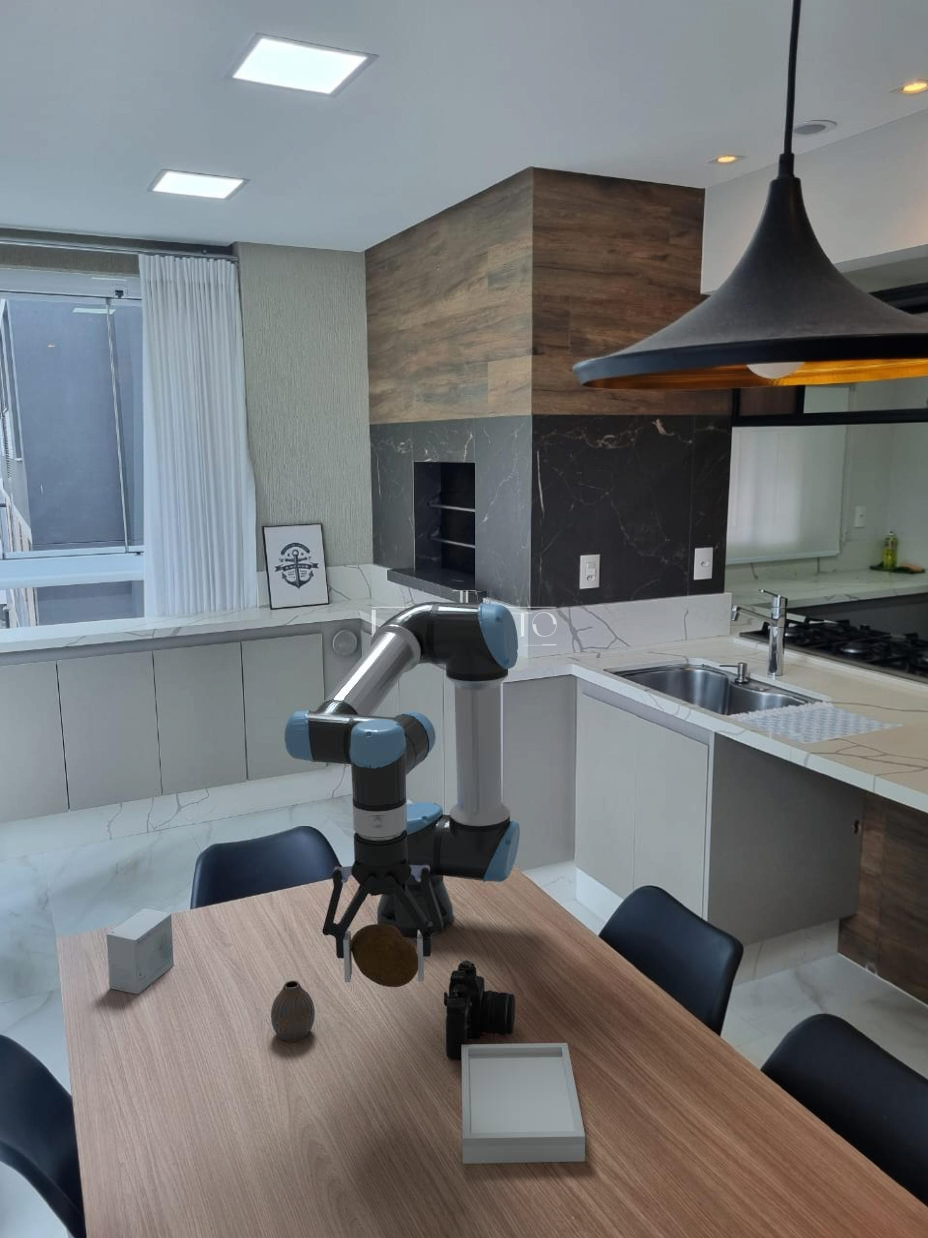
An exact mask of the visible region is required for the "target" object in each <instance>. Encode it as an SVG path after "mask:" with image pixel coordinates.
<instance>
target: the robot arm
mask: <svg viewBox="0 0 928 1238" xmlns="http://www.w3.org/2000/svg"><path fill="white" fill-rule="evenodd" d="M518 649H519V639H518V631H517V626H516V622H515V619H514V616H513V615H512V612H511V611H510V610H509V608H507V607H506V606H505V605H501V604H495V603H494V604H492V603H487V602H457V601H456V602H454V601H453V602H450V601H449V602H448V601H447V602H446V601H445V602H441V601H426V602H421V603H418V604H415V605H413V606H412V605H411V606H410V607H407V608H406V609H403V610H402V611H400V612H399V611H398V612H397V613H396V614H394V615H393V616H391V617H390V618H388V620H386V621H385V622H384V623H383V624H382V625H380V626H379V627H378V629H376V631H375V632H374V634H373V635H372V637H371V640H370V646H369V648H368V649H367V650H366V651H365V652H364V654H363V655H362V656H361V657H360V659H358V661H357V662H356V663H355V665H354V666H353V667H352V668H351V669H350V670H349V672H347V674H346V675H345V676H344V677H343V679H342V680H341V681H340V682H339V683H338V684H337V686H336V687H335V688H334V689H333V690H332V692H330V694H329V695H328V696H327V697H326V699H324V701H323V702H322V704H321V705H320V706H318V708H317V709H316V710H315V711H313V710H310V709H307V710H298V711H295V712H293V713H292V714H291V715H290V717H288V720H287V722H286V724H285V728H284V743H285V749H286V752H287V754H288V755H289V756H290V757H291V758H293V759H296V760H302V761H308V762H309V761H310V762H311V763H329V764H344V765H350V768H351V785H352V786H351V787H352V788H351V789H352V790H351V791H352V825H353V826H352V827H353V828H352V829H353V830H354V834H353V849H354V850H353V852H354V853H353V855H354V857H353V858H354V862H353V863H352V865H350V866H349V865H348V866H347V865H346V866H343V865H342V864H339V863H337V864H335V866H334V869H333V871H332V875H331V877H332V884H333V888H332V892H331V897H330V900H329V904H328V907H327V912H326V915H325V920H324V922H323V926H322V930H321V931H322V932H321V933H322V935H324V936H332V937H334V938H335V952H336V958H337V959H343V964H344V965H343V967H344V969H343V970H344V983H351V980H352V975H353V961H352V960H353V955H352V951H351V939H352V934H351V933H352V931H351V930H349V928H350V926H351V924H352V922H353V920H354V919H355V917H356V916H357V913H358V912H359V910H360V908H361V907H362V905H363V903H364V902H365V900H366V898H367V897H368V895H370V896H371V897H377V896H380V895H381V896H380V899H379V902H378V906H377V909H376V917H377V924H387V925H392V926H395V927H396V928H397V929H398V930H399V931H400V932H401V934H402V936H403V937H409V938H411V937H412V938H413V937H416V940H417V941H416V944H417V945H416V947H417V949H416V953H417V956H418V971H417V981H418V982H424V978H425V977H424V975H425V960H424V959H425V958H426V957H427V958H429V957H431V955H432V936H433V935H434V934H441V933H442V932H443V930H445V929H447V928H448V927H449V926H450V925H451V923H452V922H453V918H454V916H453V914H454V912H453V905H452V904H453V903H452V901H451V898H450V895H449V893H448V889H447V887H446V884H445V882H444V877H448V878H449V877H451V878H457V879H458V878H459V879H467V880H473V881H481V882H483V883H486V882H497V883H500V882H505V881H506V880H507V879H508V878H509V876H510V875H511V873H512V871H513V868H514V864H515V861H516V858H517V853H518V850H519V849H518V848H519V842H520V835H521V829H520V824H519V823H518V822H517V821H515V820H512V821H511V812H510V809H509V807H508V806H507V805H505V804H504V803H503V799H502V798H503V797H502V795H503V793H502V791H503V790H502V783H503V782H502V724H501V723H502V717H501V715H502V713H501V684H502V683H503V681H504V680H506V679H507V678H508V676H509V670H510V669H513V668H514V667H516V666H515V665H516V664H517V661H518V654H519V653H518ZM422 664H434V665H445V676H446V678H447V679H448V680H449V681H450V682H451V683H452V684H453V685H454V714H455V716H454V717H455V718H454V721H455V752H456V753H455V757H456V758H455V761H456V763H455V764H456V801H457V802H456V804H455V805H454V806H452V808H451V809H450V811H449V814H444V810H443V807H442V805H440V804H439V803H437V802H432V801H416V802H412V803H408V802H407V780H406V779H407V775H408V774H410V772H411V771H412V770H414V768H416V767H417V766H418V765H420V763H423V762H424V761H425V760H426V758H427V757H428V755H429V753H430V752H432V750H433V748H434V746H435V743H436V737H437V736H436V730H435V728H434V725H433V724H432V722H431V720H430V719H429V718H428V717H426V716H425V715H424V714H423V713H420V712H419V711H405V712H403V713H399V714H398V715H396V716H394V717H391V716H379V715H378V716H377V715H374V714H375V712H376V711H377V709H378V708H379V707H380V706H381V704H382V703H383V702H384V700H385V699H386V698H387V697H388V695H389V693H390V692H391V691H392V690H393V688H394V687H395V685H396V684H397V683H398V682H399V681H400V678H401V677H402V676H403V675H404V674H405V673H408V672H410V671H412V670H413V669H415V668H416V666H417V665H422ZM350 876H352V877H353V878H354V879H355V881H356V882H357V884H359V886H358V887H357V891H356V892H355V894H354V895H353V896H352V899H351V901H350V903H349V904H348V906H347V908H346V910H345V911H344V913H343V915H342V917H341V918H340V920H339V922H337V923H335V922H334V921H335V917H336V914H337V910H338V905H339V903H340V902H339V901H340V898H341V894H342V890H343V886H344V884H346V883H347V882H348V880H349V878H350Z"/></svg>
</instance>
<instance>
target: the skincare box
mask: <svg viewBox="0 0 928 1238" xmlns="http://www.w3.org/2000/svg"><path fill="white" fill-rule="evenodd" d="M172 923H173V922H172V913H171V912H165V911H159V910H154V909H150V908H142V909H141V910H139V911H138V912H137V913H135V914H134V915H132V916H131V917H129V918H128V919H126V920H125V921H123V922H122V923H121V924H119V925H118V926H116V927H115V928H113V929H112V930H111V931H109V932H108V933H106V943H107V960H108V961H107V962H108V982H109V983H108V986H109V989H111V990H116V991H121V992H124V993H129V994H134V995H139V994H141V993H142V992H143V991H144V990H145V989H146V988H148V986H151V984H153V983H154V982H155V981H156V980H158V979H159V978H160V977H161V976H163V975H164V974H165V973H167V972H168V971H169V970H170V969H171V968H172V967H174V966H175V964H174V963H175V962H174V949H173V948H174V945H173V941H174V940H173V925H172Z"/></svg>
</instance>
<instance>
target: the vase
mask: <svg viewBox="0 0 928 1238" xmlns="http://www.w3.org/2000/svg"><path fill="white" fill-rule="evenodd" d="M315 1011H316V1010H315V1004H314V1001H313V1000H312V996H311V995H310V994H309V992H307V991H306V990H305V989H304V988H303V987H302V986H301V984H300V982H299V981H298V980H288V981H286V982H285V983H284V984H283V987H282V988H281V990H280V991H279V993H278V994H277V995H276V997H275V998H274V1001H273V1002H272V1005H271V1010H270V1019H271V1020H270V1021H271V1024H272V1025H271V1026H272V1028H273V1031H274V1033H275V1034H276V1035H277V1036H278V1037H279V1038H280V1039H281V1040H283V1041H286V1042H291V1043H292V1042H298V1041H300V1040H303V1038H305V1037H306V1036H307V1035H308V1034H309V1033H310V1032H311V1030H312V1028H313V1026H314V1023H315V1015H316V1014H315V1013H316V1012H315Z"/></svg>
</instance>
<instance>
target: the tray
mask: <svg viewBox="0 0 928 1238" xmlns="http://www.w3.org/2000/svg"><path fill="white" fill-rule="evenodd" d="M461 1101H462V1102H461V1106H462V1107H461V1108H462V1109H461V1110H462V1113H461V1115H462V1116H461V1117H462V1120H461V1121H462V1123H461V1124H462V1164H469V1165H470V1164H513V1163H515V1164H519V1163H520V1164H522V1163H523V1164H524V1163H563V1162H564V1163H573V1162H574V1163H575V1162H576V1163H579V1162H583V1163H585V1161H586V1135H585V1129H584V1123H583V1118H582V1114H581V1113H582V1111H581V1108H580V1107H581V1106H580V1103H579V1102H580V1101H579V1097H578V1092H577V1086H576V1082H575V1076H574V1072H573V1067H572V1061H571V1055H570V1050H569V1045H568V1043H567V1042H544V1043H543V1042H542V1043H541V1042H540V1043H537V1042H536V1043H483V1044H481V1043H480V1044H478V1043H477V1044H476V1043H475V1044H473V1043H472V1044H470V1043H469V1045H462V1060H461Z"/></svg>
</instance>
